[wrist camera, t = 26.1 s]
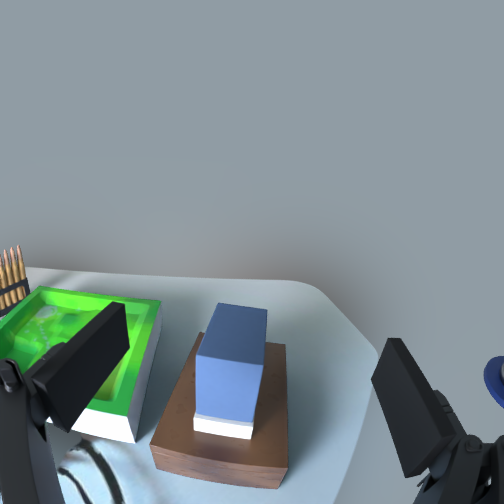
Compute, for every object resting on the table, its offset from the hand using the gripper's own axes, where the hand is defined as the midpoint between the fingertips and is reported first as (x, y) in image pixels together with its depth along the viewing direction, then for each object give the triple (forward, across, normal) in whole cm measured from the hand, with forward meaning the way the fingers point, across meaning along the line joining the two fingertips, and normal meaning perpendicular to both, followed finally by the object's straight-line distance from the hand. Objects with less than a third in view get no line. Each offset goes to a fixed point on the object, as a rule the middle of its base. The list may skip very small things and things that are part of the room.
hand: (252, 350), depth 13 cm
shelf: (+12, -2, -19) cm, 22 cm away
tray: (+14, -26, -19) cm, 35 cm away
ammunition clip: (+20, -48, -19) cm, 55 cm away
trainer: (+12, -2, -14) cm, 18 cm away
